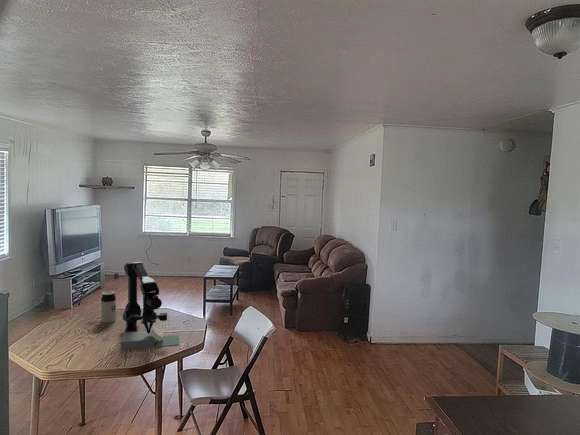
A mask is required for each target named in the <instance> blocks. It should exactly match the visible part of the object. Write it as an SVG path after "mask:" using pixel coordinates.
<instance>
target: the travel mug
mask: <svg viewBox="0 0 580 435" xmlns="http://www.w3.org/2000/svg"><path fill="white" fill-rule="evenodd" d="M115 294H116V291H113V290H107V291H103V292H102V293H101V300H100V302H101V304H100V306H101V308H100V311H101V312H100V313H101V314H100V315H101V320H100V322H101V323H104V324H110V323H113V322H115V321H116V320H117V315H116V311H117V310H116V309H117V308H116V307H117V306H116V300H117V299H116V295H115Z"/></svg>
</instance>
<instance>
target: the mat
mask: <svg viewBox="0 0 580 435" xmlns="http://www.w3.org/2000/svg"><path fill="white" fill-rule="evenodd" d="M172 346H180V335H179V334H174V335H163V338H162V339H161V341H158V340H157V339H155V344H154V348H160V347H161V348H162V347H172Z"/></svg>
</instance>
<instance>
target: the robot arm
mask: <svg viewBox="0 0 580 435" xmlns="http://www.w3.org/2000/svg"><path fill="white" fill-rule="evenodd" d="M123 269H124V274H125V275H126V277H127V284H128V285H127V288H128V289H127V292H128V293H127V295H128V296H127V297H128V298H127V304H126V305H125V307H124V309H125V310H124V312H123V314H122V320H123V321H124V322H125V323H126V324H125V326H126V327H125V330H124V332H133V331H134V332H135V331H137V330H138V328H139V326H138V323H137V322H138V321H140V324H141V325H142V324H143V325H144V327H145V330H146V331H147V333H148V334H149V333H150V331H151V329H152V328H153V327H152V326H153V325H154V324H155V323H156V322H157V320H159V321H160V322H166V321H168V313H167V312H160V313H159V314H158V312H156V311H155V310H159V309H160V308H161V307H162V304H163V301H162V299H161V298H159V295H160V289H159V286H158V284H157V282H156V281H155V279H153V278H152V277H150V276H149V274H148V272H147V270H146V269H145V267H144V263H143V261H135V262H127V263H125V264H124V267H123ZM138 280H139V281H140V291H141V293H142V310H141V305H140V304H139V303H138Z"/></svg>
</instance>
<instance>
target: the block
mask: <svg viewBox="0 0 580 435" xmlns="http://www.w3.org/2000/svg"><path fill="white" fill-rule="evenodd" d="M150 331H151V334H150V336H152V337H153V338H155V340H156V339H157V340H158V341H161V339H162V338H163V336H164V331H163V330H161V329H159V328H158V327H156V326H155V325H154V326H153V327H151V330H150Z"/></svg>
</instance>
